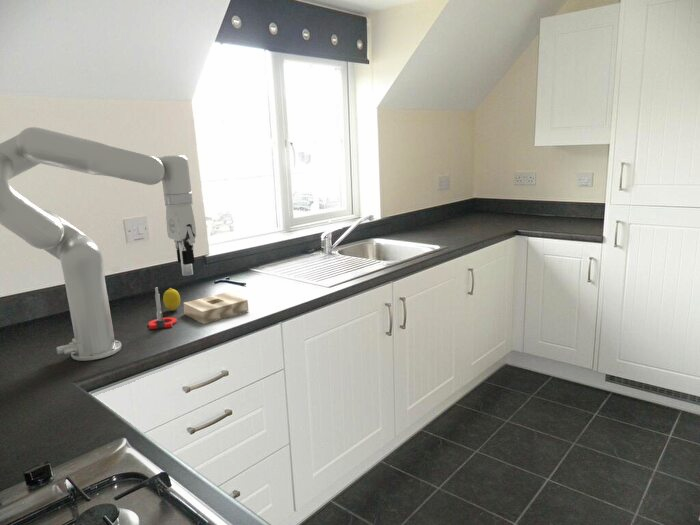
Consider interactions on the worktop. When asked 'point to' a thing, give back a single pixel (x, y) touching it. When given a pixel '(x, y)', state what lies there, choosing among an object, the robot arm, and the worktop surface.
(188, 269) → the peg
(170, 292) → the lemon
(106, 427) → the worktop surface
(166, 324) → the red grey post stand
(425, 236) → the worktop surface
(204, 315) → the hole block
